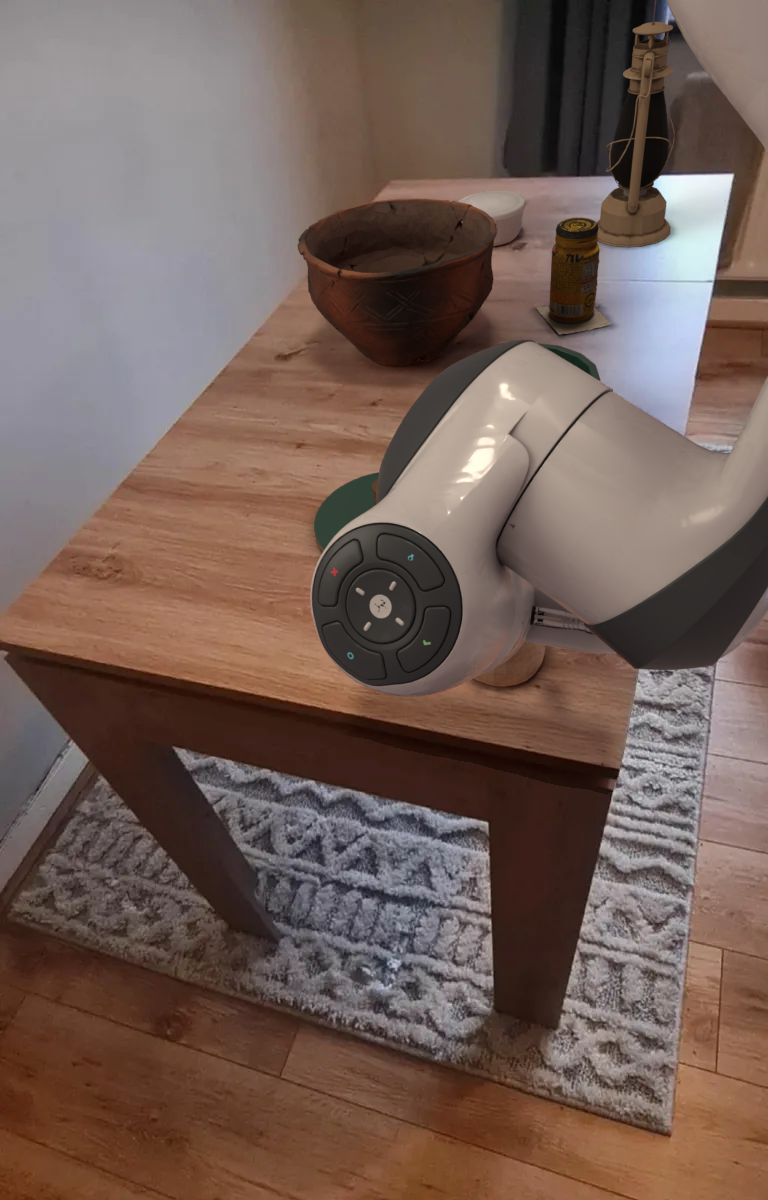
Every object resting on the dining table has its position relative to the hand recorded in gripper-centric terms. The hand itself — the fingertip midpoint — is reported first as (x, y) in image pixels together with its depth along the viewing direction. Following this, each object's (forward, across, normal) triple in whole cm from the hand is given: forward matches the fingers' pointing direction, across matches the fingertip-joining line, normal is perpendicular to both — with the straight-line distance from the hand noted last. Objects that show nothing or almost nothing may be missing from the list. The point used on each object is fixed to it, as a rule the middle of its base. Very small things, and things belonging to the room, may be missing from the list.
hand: (496, 603), depth 61 cm
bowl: (+43, +24, -32) cm, 59 cm away
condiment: (+50, +4, -38) cm, 63 cm away
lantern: (+71, -1, -59) cm, 92 cm away
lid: (+17, +15, -6) cm, 23 cm away
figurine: (+7, 0, +5) cm, 8 cm away
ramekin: (+69, +21, -57) cm, 92 cm away
